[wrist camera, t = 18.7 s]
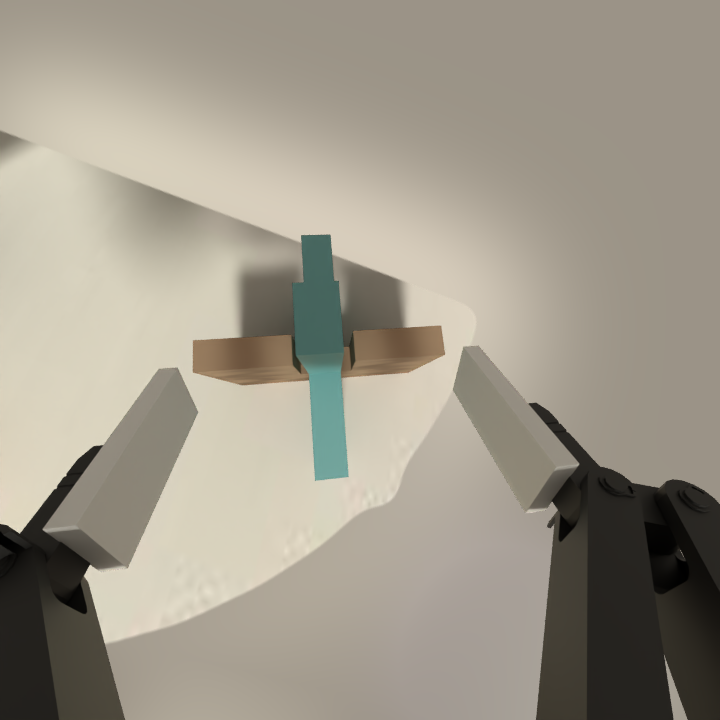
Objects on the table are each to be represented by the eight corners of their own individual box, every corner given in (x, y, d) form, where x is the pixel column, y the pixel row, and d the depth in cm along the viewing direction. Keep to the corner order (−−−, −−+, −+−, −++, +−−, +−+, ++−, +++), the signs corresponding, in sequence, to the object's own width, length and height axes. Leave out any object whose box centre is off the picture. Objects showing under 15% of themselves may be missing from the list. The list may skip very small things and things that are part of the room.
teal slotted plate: (343, 453, 33) (356, 515, 14) (321, 455, 33) (304, 522, 14) (331, 290, 37) (328, 154, 17) (311, 291, 36) (285, 154, 17)
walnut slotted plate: (242, 385, 34) (192, 372, 22) (241, 364, 34) (193, 340, 22) (408, 372, 36) (445, 354, 24) (406, 352, 36) (441, 325, 24)
